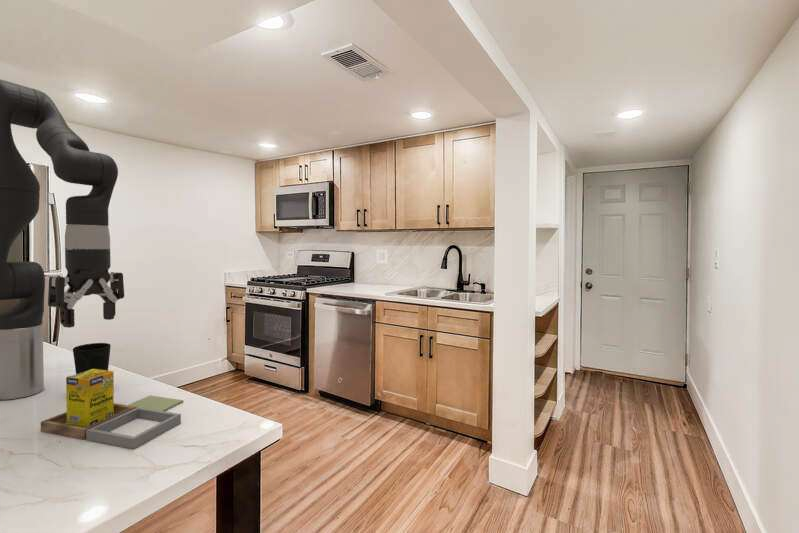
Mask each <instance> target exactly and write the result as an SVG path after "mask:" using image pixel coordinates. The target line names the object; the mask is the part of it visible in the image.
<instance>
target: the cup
mask: <svg viewBox="0 0 799 533" xmlns="http://www.w3.org/2000/svg"><path fill="white" fill-rule="evenodd" d="M111 347H112V346H111V344H110V343H108V342H95V343H85V344H81V345H76V346H75V347H73V348H72V354H73V361H74V367H75V375H76V374H79V373H82V372H85V371H89V370H91V369H99V370H107V371H109V368H110V367H109V366H110V356H111Z"/></svg>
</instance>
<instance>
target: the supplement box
mask: <svg viewBox="0 0 799 533" xmlns="http://www.w3.org/2000/svg"><path fill="white" fill-rule="evenodd" d="M65 381H66V382H65V383H66V384H65V386H66V389H65V392H66V393H65V394H66V397H65V399H66V400H65V402H66V410H65V411H66V412H67V423H66V424H69V425H74V426H79V427H85V428H86V427H88V426H91V425H93V424H95V423H97V422H100V421H102V420H104V419H106V418H109V417H111V416H113V415H115V414H114V400H115V399H114V398H115V397H114V396H115V395H114V371H113V370H108V371H107V370H99V369H91V370H89V371H85V372H82V373H79V374H76V373H75V374H73V375H68V376H66V377H65Z"/></svg>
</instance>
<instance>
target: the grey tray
mask: <svg viewBox="0 0 799 533" xmlns="http://www.w3.org/2000/svg"><path fill="white" fill-rule="evenodd" d="M181 415H182V414H181V413H177V412H169V411H159V410H153V409H146V408H140V407H137V408H135V409H133V410H130V411H128V412H126V413H124V414H122V415H119V416H117V417H115V418H113V419H110V420H108V421H106V422H104V423H101V424H99V425H97V426H95V427H93V428H90V429H88V430H86V440H85V441H89V442H94V443H95V442H96V443H99V444H104V443H105V445H109V444H111V445H110V446H114V445H115V446H116V447H120V448H125V449H132V450H135V449H137V448H139V447H140V446H142V445H144V444H145V443H147V442H150V441H151V440H152V439H154V438H156V437H158V436H160V435H162V434H164V433H165V432H167V431H169V430H170V429H172V428H174V427H176V426H177V425H180V424H181V423H182V416H181ZM136 419H144V420H148V421H149V420H150V421H154V420H156V422H158V424H155V425H153V426H151V427H149V428H147V429H146V430H144V431H142V432H140V433H138V434H136V435H133V436H132V435H127V434H123V433H117V432H111V431H113V430H115V429H117V428H119V427H121V426H124V425H126V424H128V423H129V422H132V421H134V420H136ZM160 421H161V422H160ZM115 446H114V447H115Z"/></svg>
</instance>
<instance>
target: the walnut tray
mask: <svg viewBox="0 0 799 533" xmlns="http://www.w3.org/2000/svg"><path fill="white" fill-rule="evenodd" d="M128 405H129V404H127V405H126V404H122V403H121V404H120V403H116V402H115V403H114V415H113V416H111V417H109V418H106V419H104V420H102V421H100V422H97V423H95V424H93V425H91V426H88V427H86V428H85V427H79V426H74V425H69V424H67V411H66V412H63V413H60V414H57V415H55V416H52V417H50V418H47V419H45V420H42V421H40V432H41V433H47V432H48V433H49V434H54V435H57V434H58V436H63V437H68V438H74V439H78V440H85V441H87V440H86V430H88V429H90V428H93V427H95V426H97V425H99V424H101V423H104V422H106V421H108V420H110V419H113V418H115V417H117V416H119V415H122V414H124V413H126V412H128V411H130V410H133V409H135V408H136V407H134V406H128Z"/></svg>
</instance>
